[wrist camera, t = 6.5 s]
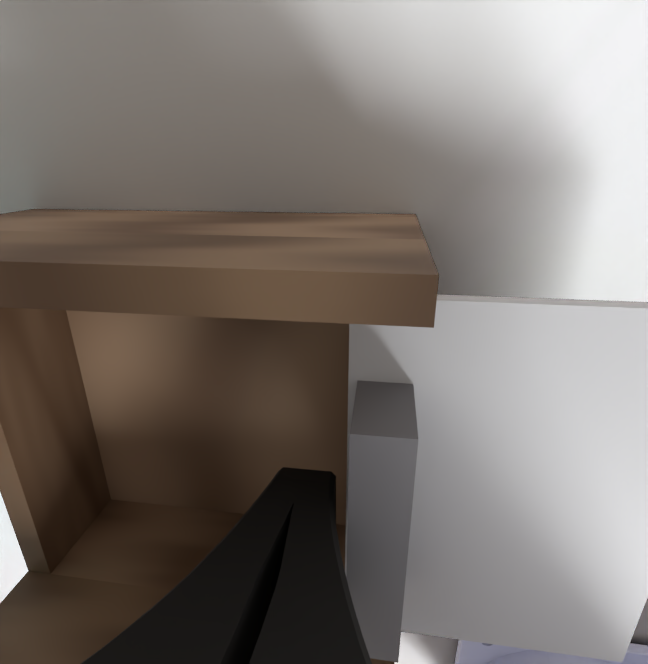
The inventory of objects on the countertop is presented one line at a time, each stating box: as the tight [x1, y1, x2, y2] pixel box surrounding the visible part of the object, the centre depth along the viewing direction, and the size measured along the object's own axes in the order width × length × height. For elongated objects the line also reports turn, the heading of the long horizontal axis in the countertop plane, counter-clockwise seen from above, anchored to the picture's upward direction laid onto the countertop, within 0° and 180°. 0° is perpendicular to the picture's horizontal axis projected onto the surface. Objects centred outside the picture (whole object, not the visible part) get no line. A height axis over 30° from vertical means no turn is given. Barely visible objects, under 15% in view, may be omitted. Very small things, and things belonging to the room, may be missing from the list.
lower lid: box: [345, 294, 648, 662], centre depth 10 cm, size 7×10×2 cm
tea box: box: [0, 209, 439, 664], centre depth 12 cm, size 12×12×7 cm
